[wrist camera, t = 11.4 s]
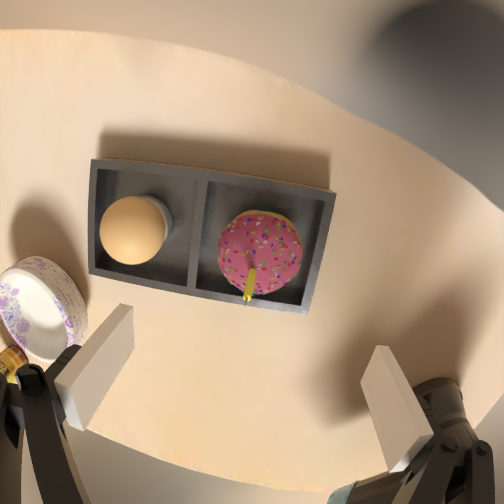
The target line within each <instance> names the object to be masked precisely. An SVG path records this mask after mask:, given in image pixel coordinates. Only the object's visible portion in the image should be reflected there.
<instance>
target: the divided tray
mask: <svg viewBox="0 0 504 504" xmlns="http://www.w3.org/2000/svg"><path fill="white" fill-rule="evenodd" d="M336 194H337V193H335V192H333V191H331V190H329V189H324V188H320V187H315V186H310V185H305V184H300V183H294V182H289V181H283V180H278V179H272V178H267V177H261V176H255V175H248V174H242V173H236V172H229V171H222V170H215V169H208V168H200V167H193V166H184V165H176V164H167V163H158V162H148V161H137V160H125V159H112V158H100V159H91V167H90V181H89V199H88V268H89V274H92V275H96V276H101V277H105V278H109V279H114V280H118V281H123V282H127V283H132V284H136V285H141V286H146V287H150V288H155V289H160V290H165V291H170V292H175V293H180V294H185V295H190V296H196V297H201V298H206V299H212V300H218V301H223V302H229V303H235V304H241V305H244V302H245V300H244V299H243V295H244V292H242V290H238V288H237V287H236V286H234V285H233V284H231V283H230V281H229V282H228V279H227V278H226V277H225V276H224V274H223V273H222V271H221V269H220V267H219V264H218V262H217V259H218V240H219V236H220V234H221V232H222V231H223V230H224V229H225V228H226V226H227V225H228V224H229V223H230V222H231V221H232V220H233V219H234V218H236V217H237V216H238V215H240V214H241V213H243V212H246V211H250V210H258V211H266V212H273V213H277V214H280V215H282V216H284V217H285V218H287V219H288V220H290V221H291V222H292V224H293V225H294V226H295V228H296V230H297V232H298V234H299V236H300V238H301V243H302V260H301V262H302V263H301V266H300V268H299V271H298V272H297V273H296V274H295V275H296V276H295V275H294V276H295V277H293V278H292V279H291V281H289V282H288V284H287V285H286V286H282V287H281V288H279V290H278V289H277V290H275V291H272V292H270V293H267V294H265V295H262V294H259V295H256V294H252V295H254V296H251V300H250V301H247V304H246V305H247V306H253V307H259V308H265V309H272V310H278V311H285V312H292V313H299V314H306V315H307V314H308V310H309V307H310V303H311V299H312V295H313V292H314V288H315V284H316V280H317V276H318V272H319V268H320V264H321V260H322V256H323V252H324V248H325V244H326V239H327V235H328V231H329V226H330V222H331V217H332V213H333V208H334V203H335V198H336ZM140 195H151V196H154V197H157V198H159V199H160V200H161V201H162V202H164V204H165V205H166V206H167V208H168V209H169V211H170V214H171V218H172V228H171V232H170V234H169V236H168V238H167V239H166V240H165V241H164V242H163V244H162V246H161V248H160V250H159V251H158V252H157V253H156V255H155V256H153V257H152V258H151V259H149V260H148V261H146V262H143V263H140V264H134V265H130V264H124V263H121V262H119V261H117V260H115V259H114V258H112V257H111V256H110V255H109V254H108V253H107V252H106V250H105V249H104V247H103V245H102V242H101V238H100V224H101V220H102V217H103V215H104V213H105V212H106V210H107V209H108V208H109V206H110V205H112V204H113V203H114V202H116V201H117V200H119V199H121V198H124V197H129V196H140Z"/></svg>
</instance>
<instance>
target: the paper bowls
mask: <svg viewBox="0 0 504 504" xmlns="http://www.w3.org/2000/svg"><path fill="white" fill-rule="evenodd" d="M0 314H1V317H2V319H3V322H4V324H5V326H6V328H7V329H8V331H9V333H10V334H11V335H12V337H13V338H14V340H15V341H16V342H17V343H18V344H19V345H20V346H21V347H22V348H23V349H24V350H25V351H26V352H27V353H29V354H30V355H32V356H33V357H35V358H37V359H38V360H41V361H43V362H46V363H51V364H52V363H53V362H54V361H55V360H56V359H57V358H58V356H60V354H61V353H62V352H63V351H64V350H65V349H66V348H67V347H69V346H71V345H73V344H77V345H81V343H82V342H83V340H84V339H85V337H86V334H87V331H88V314H87V310H86V306H85V303H84V301H83V298H82V297H81V294H80V292H79V290H78V288H77V286H76V285H75V283H74V282H73V280H72V279H71V278H70V277H69V275H68V274H67V273H66V272H65V271H64V270H63V269H62V268H61V267H60V266H58V265H57V264H55V263H54V262H52V261H51V260H49V259H46V258H44V257H40V256H31V257H28V258H25V259H23V260H21V261H19V262H18V263H16V264H14V265H13V266H12V267H10V268H8V269H6V270H5V271H4V272H3V274H2V275H1V277H0Z"/></svg>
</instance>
